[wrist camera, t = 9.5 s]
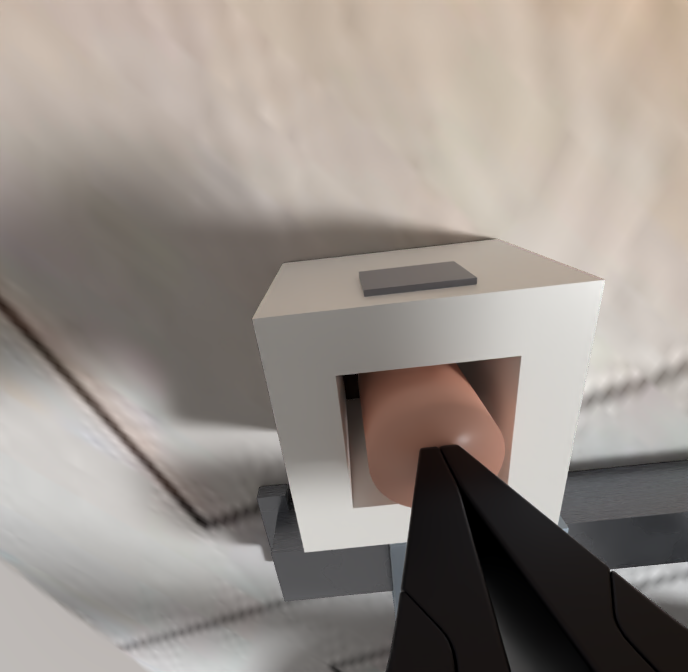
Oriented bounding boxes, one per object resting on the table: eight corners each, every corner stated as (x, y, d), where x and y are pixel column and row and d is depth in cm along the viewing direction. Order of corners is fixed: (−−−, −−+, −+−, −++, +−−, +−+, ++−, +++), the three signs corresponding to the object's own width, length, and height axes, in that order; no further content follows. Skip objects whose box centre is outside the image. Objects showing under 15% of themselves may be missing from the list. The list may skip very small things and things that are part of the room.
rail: (827, 507, 17) (899, 555, 15) (279, 562, 18) (272, 616, 16) (878, 422, 15) (970, 464, 13) (259, 486, 16) (247, 537, 13)
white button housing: (486, 416, 15) (557, 527, 10) (313, 434, 15) (304, 552, 10) (498, 234, 12) (606, 272, 7) (281, 258, 12) (250, 312, 7)
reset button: (454, 413, 12) (499, 502, 9) (362, 422, 12) (373, 515, 9) (456, 328, 11) (510, 395, 7) (353, 339, 11) (362, 411, 7)
